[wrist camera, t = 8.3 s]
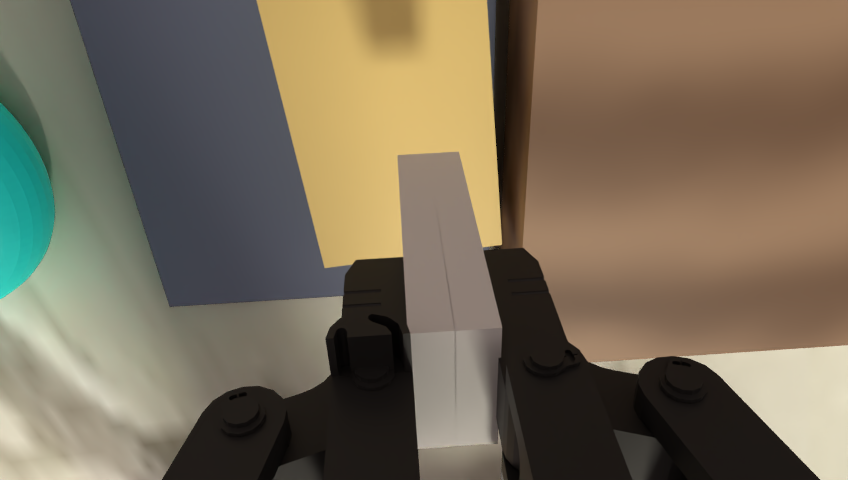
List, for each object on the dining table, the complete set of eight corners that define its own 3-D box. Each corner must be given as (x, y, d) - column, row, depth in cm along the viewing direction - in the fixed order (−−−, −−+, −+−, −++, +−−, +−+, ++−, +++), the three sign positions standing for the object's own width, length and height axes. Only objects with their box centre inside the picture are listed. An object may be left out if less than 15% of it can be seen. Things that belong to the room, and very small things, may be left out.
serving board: (830, 276, 27) (894, 341, 24) (498, 297, 27) (515, 367, 23) (1046, -271, 17) (1209, -290, 14) (519, -250, 17) (554, -266, 13)
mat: (486, 279, 26) (488, 286, 26) (173, 298, 26) (169, 306, 25) (498, -202, 17) (501, -203, 17) (19, -183, 17) (10, -183, 16)
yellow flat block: (491, 208, 24) (502, 244, 22) (329, 229, 24) (324, 267, 22) (473, -58, 19) (484, -43, 17) (267, -30, 19) (253, -10, 17)
